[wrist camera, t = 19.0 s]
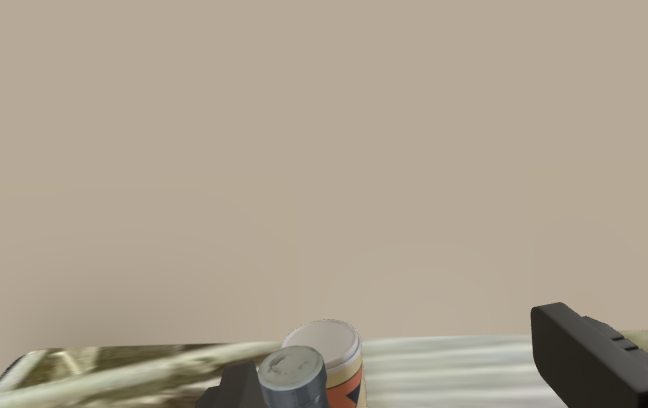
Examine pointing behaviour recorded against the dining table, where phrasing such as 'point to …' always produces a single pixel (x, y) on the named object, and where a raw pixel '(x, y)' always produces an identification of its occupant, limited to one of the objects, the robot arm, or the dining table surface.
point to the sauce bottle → (294, 378)
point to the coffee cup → (336, 359)
